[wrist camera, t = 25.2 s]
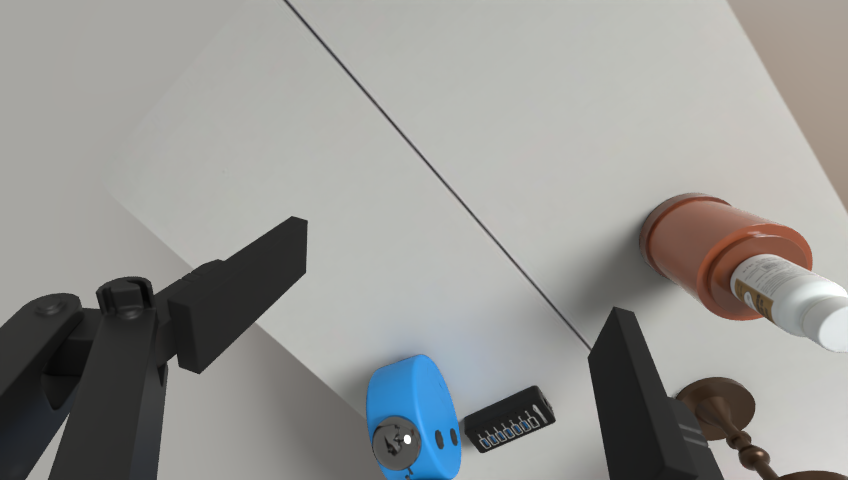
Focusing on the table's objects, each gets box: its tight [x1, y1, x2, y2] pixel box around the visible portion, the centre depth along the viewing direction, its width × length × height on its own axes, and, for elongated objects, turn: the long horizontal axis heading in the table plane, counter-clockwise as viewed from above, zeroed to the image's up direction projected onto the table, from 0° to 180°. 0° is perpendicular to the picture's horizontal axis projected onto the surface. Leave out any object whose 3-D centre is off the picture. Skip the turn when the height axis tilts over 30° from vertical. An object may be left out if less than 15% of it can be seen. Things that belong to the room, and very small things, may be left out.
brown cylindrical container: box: [639, 193, 813, 321], centre depth 36 cm, size 9×9×11 cm
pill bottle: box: [730, 254, 848, 352], centre depth 28 cm, size 4×4×8 cm
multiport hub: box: [464, 386, 556, 453], centre depth 50 cm, size 4×11×2 cm, turn 124°
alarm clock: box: [366, 355, 461, 480], centre depth 43 cm, size 13×6×15 cm, turn 25°
